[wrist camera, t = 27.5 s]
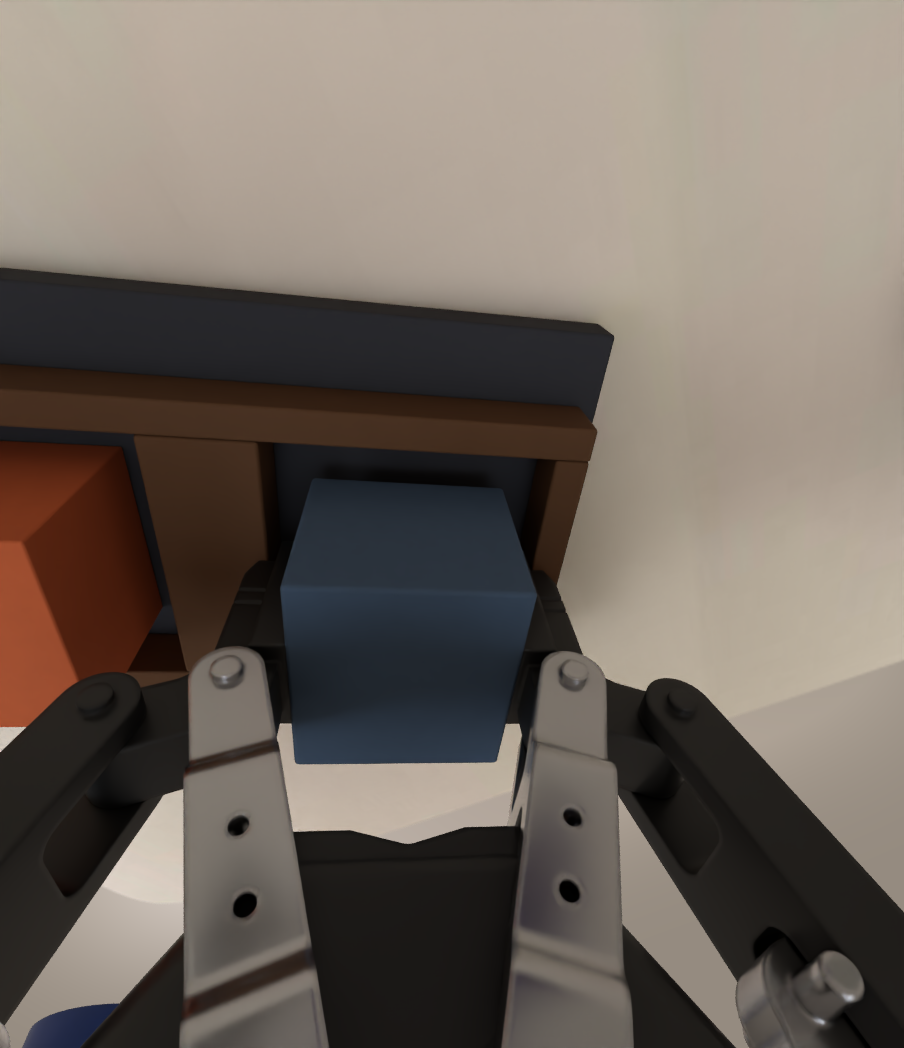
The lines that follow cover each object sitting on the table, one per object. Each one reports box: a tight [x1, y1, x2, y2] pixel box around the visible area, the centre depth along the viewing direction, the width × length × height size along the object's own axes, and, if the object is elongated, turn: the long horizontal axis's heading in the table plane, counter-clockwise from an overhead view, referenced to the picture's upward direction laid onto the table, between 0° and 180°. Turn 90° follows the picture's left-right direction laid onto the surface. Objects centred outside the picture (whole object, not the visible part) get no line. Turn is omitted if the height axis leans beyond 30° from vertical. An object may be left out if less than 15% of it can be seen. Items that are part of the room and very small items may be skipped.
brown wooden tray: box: [0, 268, 614, 687], centre depth 14 cm, size 12×18×3 cm, turn 84°
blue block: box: [280, 478, 537, 764], centre depth 12 cm, size 5×4×4 cm
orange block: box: [0, 441, 163, 727], centre depth 12 cm, size 5×4×4 cm
